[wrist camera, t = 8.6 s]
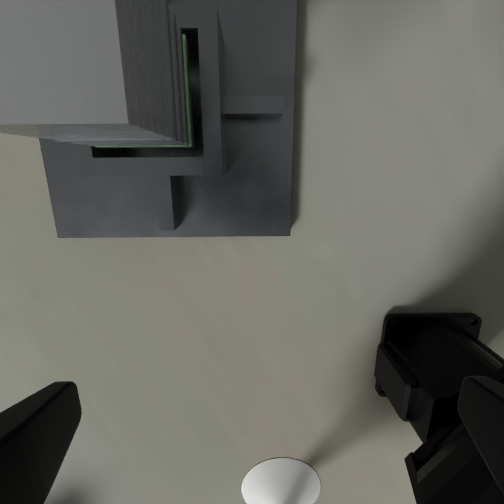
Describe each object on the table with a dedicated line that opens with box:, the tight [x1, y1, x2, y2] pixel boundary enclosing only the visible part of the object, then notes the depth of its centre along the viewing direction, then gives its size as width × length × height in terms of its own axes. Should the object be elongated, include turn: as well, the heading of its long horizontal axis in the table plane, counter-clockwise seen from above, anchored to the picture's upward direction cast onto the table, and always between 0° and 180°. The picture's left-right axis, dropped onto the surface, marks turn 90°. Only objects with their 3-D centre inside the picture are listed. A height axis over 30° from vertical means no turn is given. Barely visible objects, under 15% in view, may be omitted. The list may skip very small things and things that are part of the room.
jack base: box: [39, 0, 297, 238], centre depth 15 cm, size 14×14×4 cm
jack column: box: [0, 0, 194, 148], centre depth 10 cm, size 4×4×8 cm
